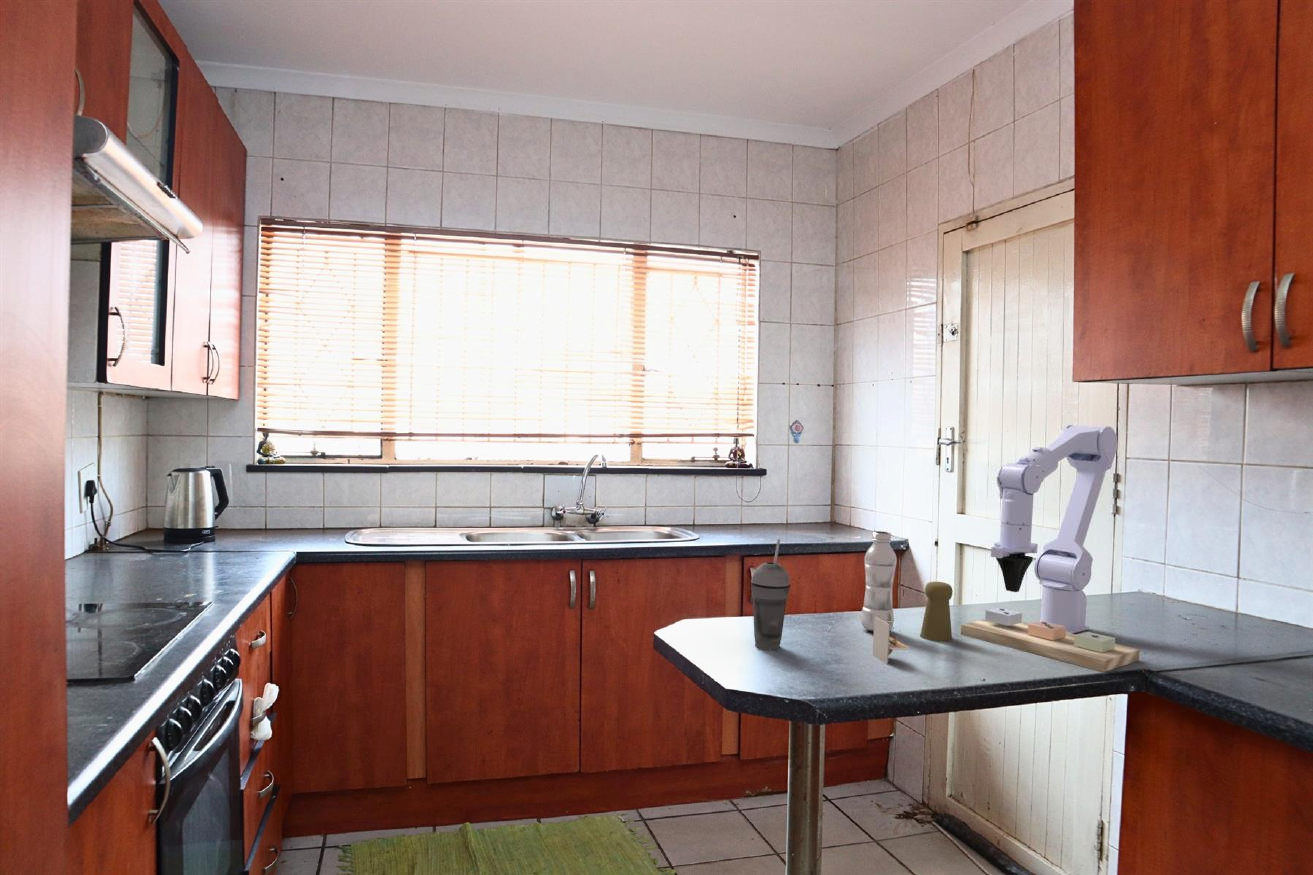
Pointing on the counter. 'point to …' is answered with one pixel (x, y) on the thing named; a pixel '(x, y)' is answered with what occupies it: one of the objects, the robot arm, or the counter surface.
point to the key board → (1050, 645)
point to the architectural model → (884, 640)
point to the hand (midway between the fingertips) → (1012, 590)
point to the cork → (937, 612)
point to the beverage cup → (769, 603)
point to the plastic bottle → (879, 580)
